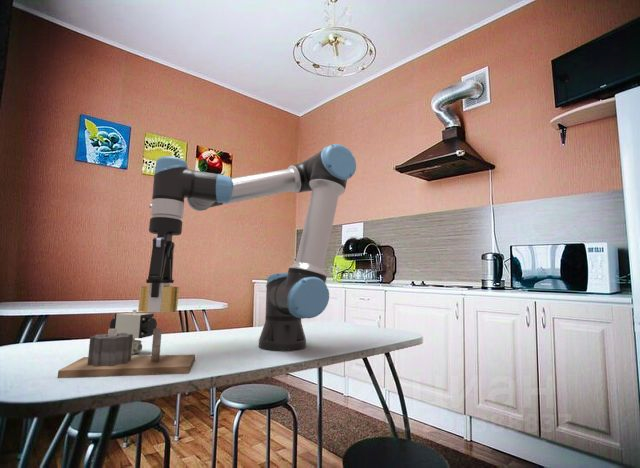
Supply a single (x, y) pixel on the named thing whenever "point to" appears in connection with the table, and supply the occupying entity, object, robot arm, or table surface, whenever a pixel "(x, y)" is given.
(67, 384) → the table surface
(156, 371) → the gear board
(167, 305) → the brass gear
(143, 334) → the pneumatic valve
